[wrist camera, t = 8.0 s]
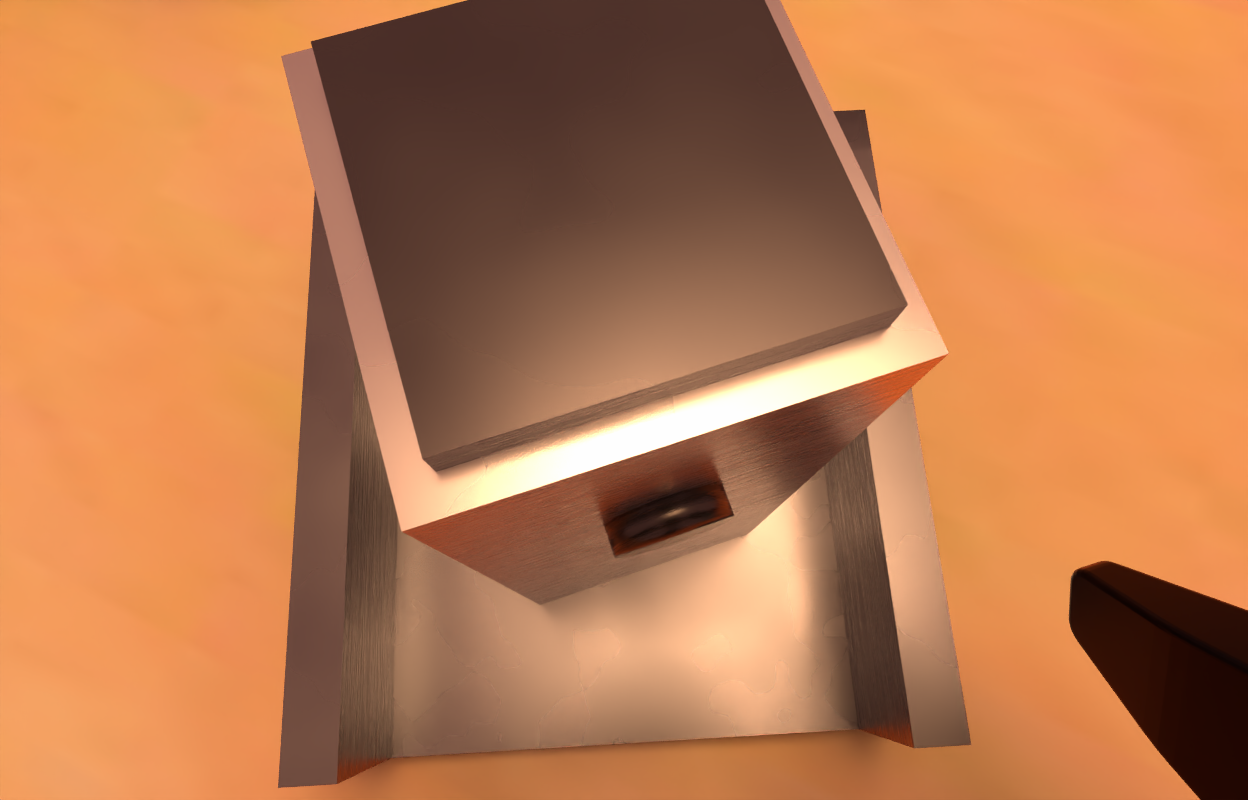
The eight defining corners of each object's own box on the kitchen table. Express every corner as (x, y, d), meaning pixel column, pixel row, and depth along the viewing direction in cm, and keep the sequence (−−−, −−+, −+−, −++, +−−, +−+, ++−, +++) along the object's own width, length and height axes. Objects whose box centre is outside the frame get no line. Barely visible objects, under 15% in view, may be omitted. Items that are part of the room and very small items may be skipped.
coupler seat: (889, 722, 18) (971, 744, 14) (359, 755, 18) (278, 787, 14) (817, 213, 22) (864, 110, 18) (377, 235, 22) (317, 135, 18)
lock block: (754, 550, 19) (993, 375, 7) (545, 622, 18) (396, 572, 6) (675, 341, 20) (754, -110, 8) (480, 402, 20) (260, 19, 8)
